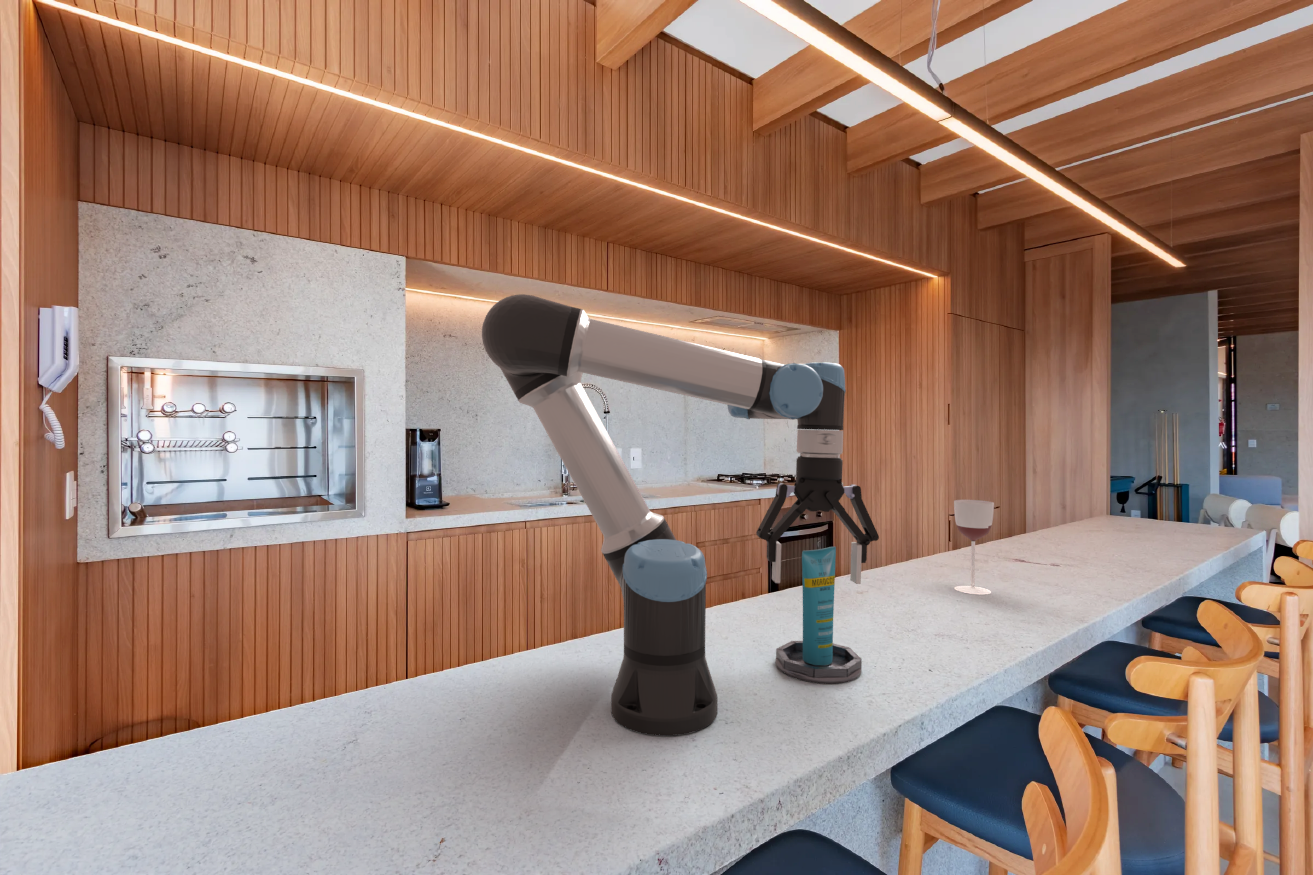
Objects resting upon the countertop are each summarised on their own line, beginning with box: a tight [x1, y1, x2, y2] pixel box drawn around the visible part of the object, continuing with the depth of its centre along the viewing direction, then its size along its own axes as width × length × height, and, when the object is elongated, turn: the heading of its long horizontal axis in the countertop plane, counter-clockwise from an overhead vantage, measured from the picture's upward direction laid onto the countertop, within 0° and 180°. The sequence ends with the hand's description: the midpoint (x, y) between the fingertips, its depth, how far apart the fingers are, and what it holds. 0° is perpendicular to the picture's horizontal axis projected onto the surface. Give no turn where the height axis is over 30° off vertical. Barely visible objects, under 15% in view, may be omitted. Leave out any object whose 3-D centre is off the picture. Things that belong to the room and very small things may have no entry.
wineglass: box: [953, 499, 995, 596], centre depth 155 cm, size 9×10×22 cm
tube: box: [801, 546, 837, 666], centre depth 105 cm, size 7×5×19 cm, turn 124°
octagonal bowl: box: [775, 640, 863, 685], centre depth 105 cm, size 14×14×2 cm
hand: (815, 581), depth 105 cm, fingers open, 13 cm apart
